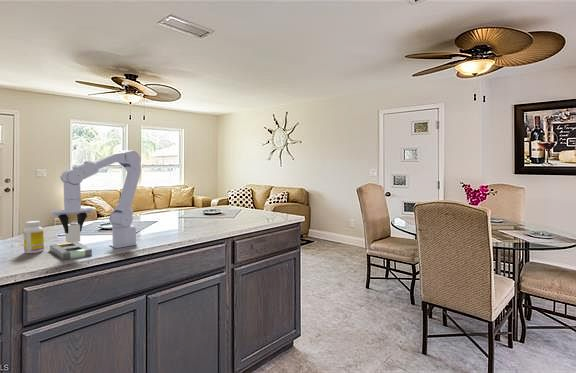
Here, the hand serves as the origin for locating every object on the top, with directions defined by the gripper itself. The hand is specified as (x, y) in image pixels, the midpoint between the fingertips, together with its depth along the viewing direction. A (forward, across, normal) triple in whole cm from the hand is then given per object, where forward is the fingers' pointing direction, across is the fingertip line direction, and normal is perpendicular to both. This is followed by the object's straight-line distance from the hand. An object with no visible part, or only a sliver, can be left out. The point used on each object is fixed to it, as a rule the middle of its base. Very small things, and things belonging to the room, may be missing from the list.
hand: (73, 232), depth 136 cm
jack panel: (+10, 0, -4) cm, 11 cm away
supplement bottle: (+10, +10, -17) cm, 22 cm away
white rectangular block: (+4, 0, 0) cm, 4 cm away
